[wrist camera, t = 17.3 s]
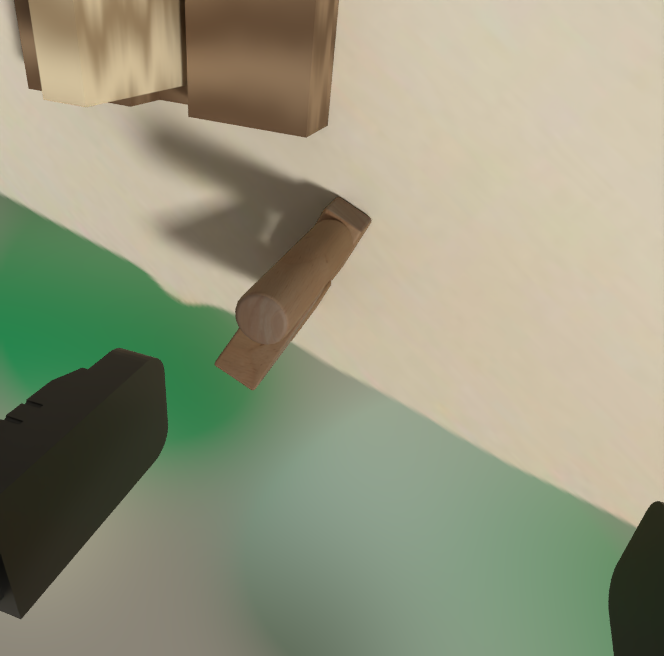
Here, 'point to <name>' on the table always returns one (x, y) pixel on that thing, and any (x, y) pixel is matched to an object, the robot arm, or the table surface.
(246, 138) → the table surface
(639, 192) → the table surface
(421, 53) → the table surface
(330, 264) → the wooden toy block structure
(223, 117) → the slotted plate
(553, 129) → the table surface
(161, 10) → the maple slat
